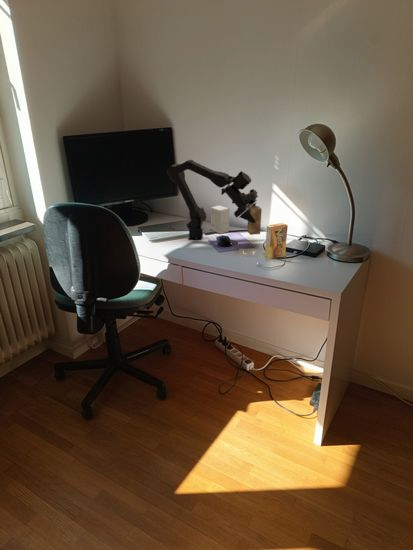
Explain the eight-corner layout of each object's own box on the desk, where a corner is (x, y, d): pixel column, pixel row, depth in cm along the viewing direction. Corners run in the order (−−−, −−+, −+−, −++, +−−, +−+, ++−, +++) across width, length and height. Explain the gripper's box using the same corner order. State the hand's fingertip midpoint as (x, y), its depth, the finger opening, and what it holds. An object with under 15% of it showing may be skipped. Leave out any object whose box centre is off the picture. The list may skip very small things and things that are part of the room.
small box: (229, 231, 226) (229, 208, 220) (220, 234, 222) (220, 210, 217) (219, 227, 232) (219, 205, 226) (210, 230, 228) (210, 207, 222)
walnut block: (250, 234, 201) (251, 209, 195) (247, 231, 205) (248, 206, 200) (260, 234, 202) (261, 209, 196) (257, 230, 206) (258, 206, 201)
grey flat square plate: (238, 257, 194) (238, 256, 193) (238, 249, 203) (238, 248, 202) (260, 257, 193) (260, 257, 192) (259, 249, 202) (259, 249, 201)
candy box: (280, 253, 197) (282, 222, 191) (285, 256, 194) (288, 225, 187) (264, 256, 194) (266, 225, 187) (269, 259, 190) (271, 227, 184)
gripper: (241, 189, 187) (263, 216, 188) (253, 180, 203) (274, 205, 203) (224, 204, 193) (246, 230, 194) (237, 195, 209) (257, 218, 210)
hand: (257, 220), depth 200 cm, fingers closed on walnut block, 7 cm apart
